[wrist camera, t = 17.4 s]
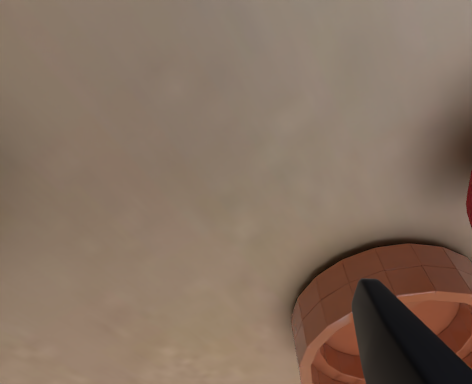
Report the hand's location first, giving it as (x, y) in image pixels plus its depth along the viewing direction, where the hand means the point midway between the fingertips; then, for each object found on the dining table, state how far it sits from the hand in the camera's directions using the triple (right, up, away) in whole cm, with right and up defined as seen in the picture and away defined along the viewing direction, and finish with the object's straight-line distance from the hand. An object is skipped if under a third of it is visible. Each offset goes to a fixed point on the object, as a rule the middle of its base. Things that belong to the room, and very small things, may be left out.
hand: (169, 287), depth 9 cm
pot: (+13, -6, +21) cm, 25 cm away
